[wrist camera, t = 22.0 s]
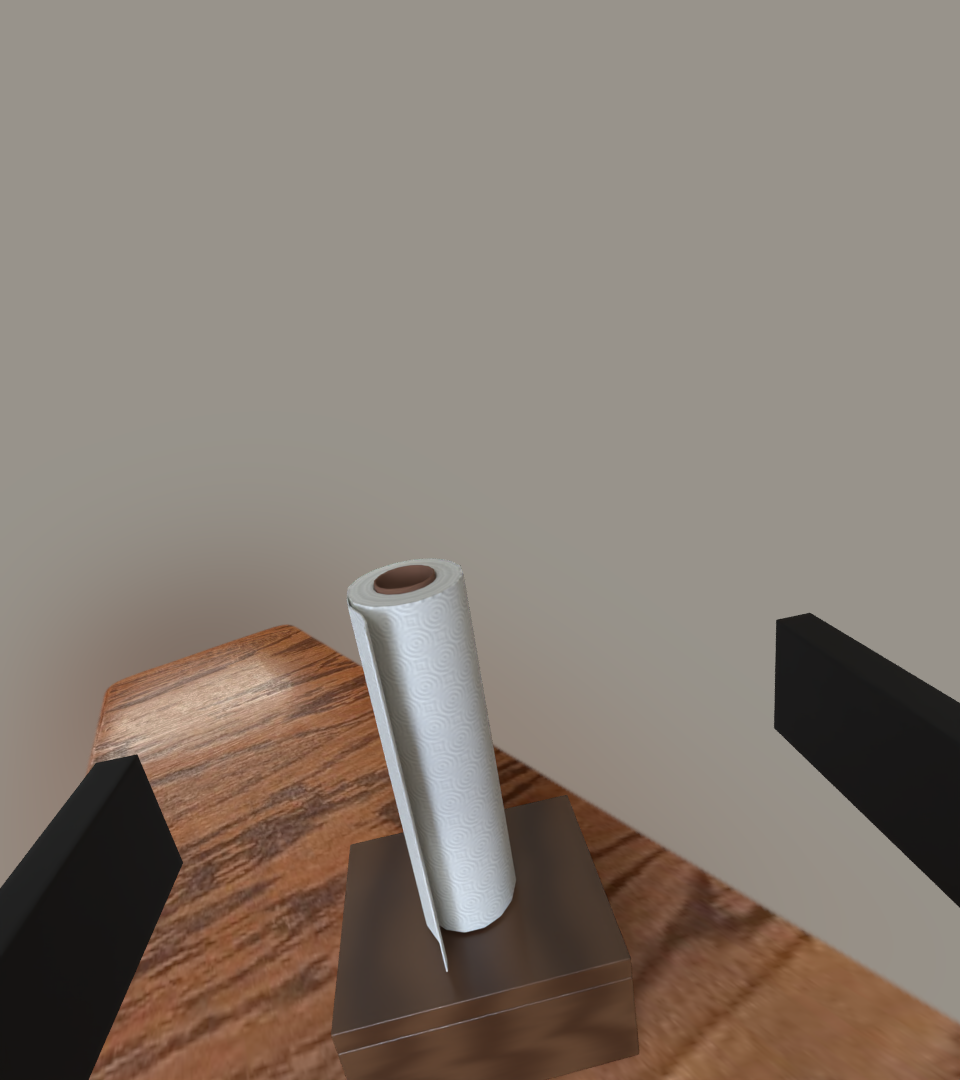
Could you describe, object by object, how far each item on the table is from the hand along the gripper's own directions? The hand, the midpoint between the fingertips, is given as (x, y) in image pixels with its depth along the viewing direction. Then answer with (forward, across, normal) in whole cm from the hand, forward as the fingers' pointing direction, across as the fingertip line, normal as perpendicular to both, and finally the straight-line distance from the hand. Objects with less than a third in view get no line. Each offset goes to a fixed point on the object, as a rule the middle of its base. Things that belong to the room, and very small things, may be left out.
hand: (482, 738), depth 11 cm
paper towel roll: (+17, -2, -24) cm, 30 cm away
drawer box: (+17, -2, -32) cm, 36 cm away
